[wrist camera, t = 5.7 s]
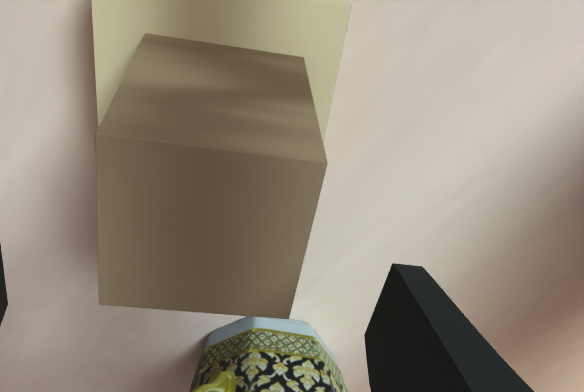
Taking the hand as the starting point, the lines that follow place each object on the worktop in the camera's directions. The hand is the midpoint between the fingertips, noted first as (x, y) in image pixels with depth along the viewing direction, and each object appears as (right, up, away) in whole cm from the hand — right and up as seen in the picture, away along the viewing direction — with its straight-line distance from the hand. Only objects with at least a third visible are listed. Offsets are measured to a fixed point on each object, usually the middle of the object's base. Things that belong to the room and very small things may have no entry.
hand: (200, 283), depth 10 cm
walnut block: (-1, +4, +6) cm, 8 cm away
